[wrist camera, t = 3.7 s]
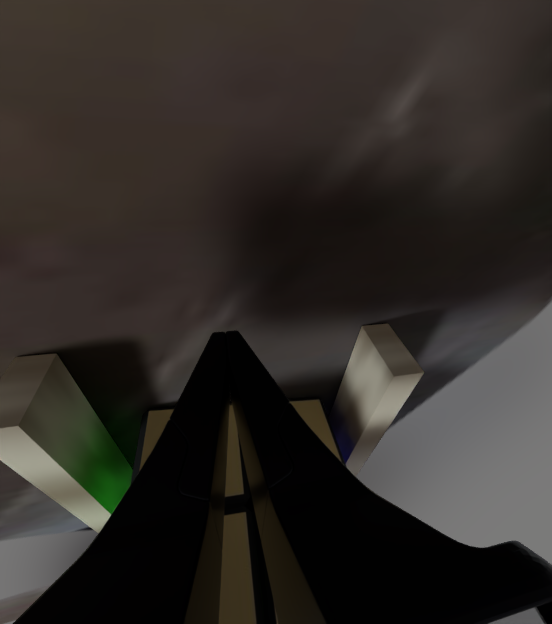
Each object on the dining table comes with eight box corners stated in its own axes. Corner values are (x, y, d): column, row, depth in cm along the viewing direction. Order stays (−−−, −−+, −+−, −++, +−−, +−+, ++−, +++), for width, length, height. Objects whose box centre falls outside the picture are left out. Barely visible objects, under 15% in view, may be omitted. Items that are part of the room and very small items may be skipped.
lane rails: (337, 439, 21) (352, 481, 19) (112, 477, 18) (99, 534, 16) (388, 323, 14) (424, 372, 11) (15, 357, 11) (-37, 433, 8)
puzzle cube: (287, 465, 23) (327, 653, 15) (157, 482, 20) (129, 720, 13) (322, 394, 17) (417, 647, 9) (143, 405, 14) (74, 774, 7)
